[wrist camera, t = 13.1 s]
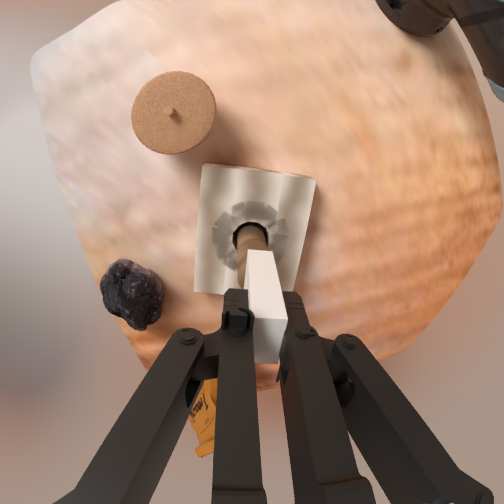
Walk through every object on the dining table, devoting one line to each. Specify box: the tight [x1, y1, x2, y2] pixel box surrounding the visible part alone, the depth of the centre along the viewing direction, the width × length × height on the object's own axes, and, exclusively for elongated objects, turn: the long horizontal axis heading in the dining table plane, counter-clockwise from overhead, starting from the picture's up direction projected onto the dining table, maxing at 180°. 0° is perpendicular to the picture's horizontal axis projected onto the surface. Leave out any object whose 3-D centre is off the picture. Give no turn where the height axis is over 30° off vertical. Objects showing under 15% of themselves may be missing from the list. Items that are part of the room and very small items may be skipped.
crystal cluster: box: [100, 259, 164, 331], centre depth 44 cm, size 13×14×10 cm
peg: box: [237, 221, 268, 289], centre depth 38 cm, size 4×4×15 cm
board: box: [194, 163, 316, 295], centre depth 43 cm, size 16×20×4 cm
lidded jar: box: [131, 71, 216, 154], centre depth 32 cm, size 11×11×9 cm
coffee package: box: [188, 378, 218, 458], centre depth 46 cm, size 10×12×22 cm
